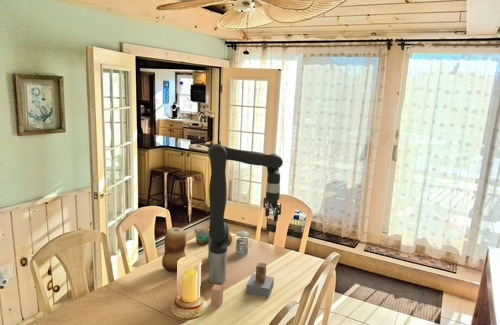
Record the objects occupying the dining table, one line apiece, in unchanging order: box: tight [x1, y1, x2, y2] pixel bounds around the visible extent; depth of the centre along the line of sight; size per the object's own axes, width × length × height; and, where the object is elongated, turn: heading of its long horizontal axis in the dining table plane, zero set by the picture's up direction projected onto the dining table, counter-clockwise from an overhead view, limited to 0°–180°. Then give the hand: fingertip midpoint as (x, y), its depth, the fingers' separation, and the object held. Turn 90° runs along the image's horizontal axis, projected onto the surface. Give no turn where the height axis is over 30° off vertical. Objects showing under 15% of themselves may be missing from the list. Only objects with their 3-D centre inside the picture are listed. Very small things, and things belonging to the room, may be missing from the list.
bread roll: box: [228, 232, 233, 245], centre depth 246 cm, size 10×15×8 cm, turn 35°
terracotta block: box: [210, 283, 224, 308], centre depth 173 cm, size 4×4×9 cm
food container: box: [193, 227, 209, 246], centre depth 240 cm, size 12×6×10 cm, turn 81°
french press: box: [233, 216, 252, 258], centre depth 226 cm, size 10×12×25 cm
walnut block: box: [255, 262, 267, 284], centre depth 186 cm, size 4×4×9 cm
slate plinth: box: [245, 273, 275, 298], centre depth 188 cm, size 12×12×5 cm
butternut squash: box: [161, 227, 187, 273], centre depth 202 cm, size 14×13×25 cm
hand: (271, 218), depth 197 cm, fingers open, 8 cm apart
